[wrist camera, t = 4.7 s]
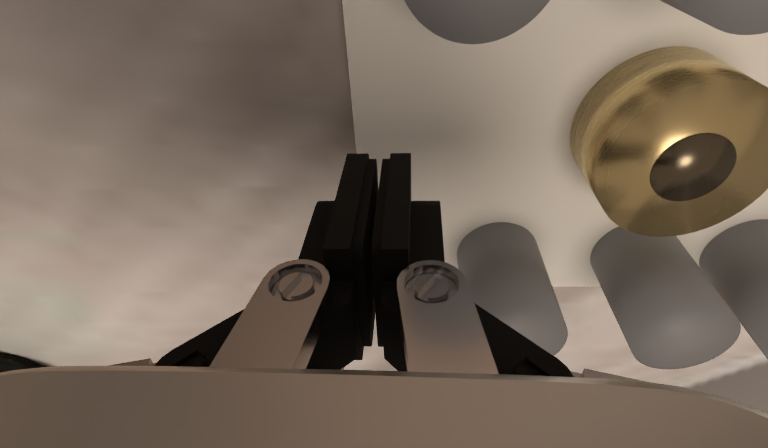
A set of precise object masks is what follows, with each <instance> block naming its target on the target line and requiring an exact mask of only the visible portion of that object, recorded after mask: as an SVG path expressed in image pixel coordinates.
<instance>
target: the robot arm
mask: <svg viewBox="0 0 768 448" xmlns="http://www.w3.org/2000/svg"><path fill="white" fill-rule="evenodd" d="M375 313H376V325H377V338H378V346H381V347H384V358H385V359H386V360H387V361H388V362H389V363H390V364H391V365H392V366H393V367H394V368H396V369H397V370H398V371H369V370H344V367H345V366H346V365H348V364H349V363H350V362H352V361H353V360H362V357H363V349H364V346H372V339H373V329H374V319H375ZM0 448H768V413H766V412H764V411H761V410H759V409H757V408H754V407H751V406H748V405H744V404H741V403H739V402H735V401H732V400H729V399H726V398H723V397H720V396H717V395H714V394H709V393H704V392H700V391H696V390H692V389H688V388H683V387H678V386H671V385H664V384H657V383H650V382H645V381H640V380H636V379H631V378H626V377H622V376H617V375H612V374H608V373H603V372H598V371H594V370H589V369H584V370H583V373H582V374H580V373H576V372H571V371H570V370H569V369H568V368H567V366H565V365H564V364H563V363H562V362H561V361H560V360H558V359H557V358H556V357H554V356H553V355H551V354H550V353H548V352H547V351H545V350H544V349H542V348H541V347H539V346H538V345H536V344H535V343H534V342H532V341H531V340H529V339H528V338H526V337H525V336H523V335H522V334H520V333H519V332H517V331H516V330H514V329H513V328H511V327H510V326H508V325H507V324H505V323H504V322H502V321H501V320H499V319H498V318H496V317H495V316H493V315H492V314H490V313H489V312H487V311H486V310H484V309H483V308H481V307H480V306H478V305H477V304H475V303H474V301H473V298H472V295H471V292H470V289H469V286H468V283H467V280H466V278H465V277H464V275H463V273H462V272H461V271H460V270H458V269H457V268H456V267H455V266H453V265H451V264H448V263H446V262H445V259H444V246H443V232H442V219H441V205H440V201H411V153H390V159H382V166H381V174H380V181H379V189H378V172H377V160H376V159H369V154H368V153H365V154H347V157H346V161H345V165H344V169H343V172H342V176H341V180H340V184H339V187H338V191H337V195H336V199H335V201H318V202H317V204H316V206H315V209H314V213H313V216H312V219H311V222H310V225H309V228H308V231H307V234H306V237H305V240H304V244H303V247H302V250H301V253H300V256H299V259H297V260H292V261H287V262H284V263H282V264H280V265H277V266H276V267H274V268H273V269H272V270H270V271H269V272H268V273H267V274H266V276H265V277H264V278H263V280H262V281H261V283H260V285H259V286H258V288H257V290H256V291H255V293H254V294H253V296H252V298H251V299H250V301H249V303H248V304H247V306H246V308H245V309H244V310H242V311H240V312H238V313H236V314H235V315H233V316H231V317H229V318H228V319H226V320H224V321H222V322H221V323H219V324H217V325H215V326H214V327H212V328H210V329H208V330H207V331H205V332H203V333H201V334H200V335H198V336H196V337H194V338H193V339H191V340H189V341H187V342H186V343H184V344H182V345H180V346H179V347H177V348H175V349H173V350H172V351H170V352H169V353H167V354H166V355H165V356H163V357H162V358H161V359H160V360H159V361H158V362H157V363H154V364H153V362H152V360H151V359H144V360H138V361H132V362H126V363H121V364H115V365H109V366H60V367H41V368H31V369H21V370H12V371H7V372H1V373H0Z"/></svg>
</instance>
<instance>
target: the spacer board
mask: <svg viewBox="0 0 768 448" xmlns="http://www.w3.org/2000/svg"><path fill="white" fill-rule="evenodd" d="M342 4H343V15H344V26H345V37H346V47H347V58H348V69H349V80H350V91H351V102H352V112H353V123H354V134H355V145H356V154H365V153H368V154H369V159H376V160H377V172H378V189H379V181H380V174H381V166H382V159H390V153H411V201H440V205H441V219H442V232H443V246H444V259H445V262H446V263H448V264H451V265H453V266H455V267H456V268H457V269H458V270H460V271H461V272H462V273H463V275H464V277H465V278H466V280H467V283H468V286H469V289H470V292H471V295H472V298H473V301H474V303H475V304H477V305H478V306H480V307H481V308H483V309H484V310H486V311H487V312H489V313H490V314H492V315H493V316H495V317H496V318H498V319H499V320H501V321H502V322H504V323H505V324H507V325H508V326H510V327H511V328H513V329H514V330H516V331H517V332H519V333H520V334H522V335H523V336H525V337H526V338H528V339H529V340H531V341H532V342H534V343H535V344H536V345H538V346H539V347H541V348H542V349H544V350H545V351H547V352H548V353H550V354H551V355H553V356H554V355H555V354H556V353H558V352H559V351H560V350H561V348H562V347H563V346H564V344H565V342H566V340H567V336H568V331H567V327H566V324H565V321H564V318H563V315H562V313H561V310H560V307H559V304H558V301H557V299H556V296H555V293H554V290H553V287H585V286H601V288H602V290H603V292H604V294H605V296H606V298H607V300H608V302H609V305H610V307H611V309H612V311H613V313H614V315H615V317H616V319H617V322H618V324H619V326H620V328H621V330H622V332H623V334H624V336H625V339H626V341H627V343H628V345H629V347H630V349H631V351H632V353H633V355H634V357H635V358H636V359H637V360H638V361H639V362H640V363H642V364H644V365H646V366H649V367H653V368H658V369H680V368H686V367H691V366H695V365H698V364H701V363H704V362H707V361H709V360H711V359H713V358H715V357H717V356H719V355H720V354H722V353H723V352H725V351H726V350H727V349H729V348H730V347H731V346H732V345H733V344H734V342H735V341H736V340H737V338H738V336H739V334H740V329H741V326H740V323H741V324H742V326H743V327H744V328H745V330H746V331H747V332H748V334H749V335H750V336H751V338H752V339H753V340H754V342H755V343H756V344H757V346H758V347H759V348H760V350H761V351H762V352H763V354H764V355H765V356H766V358H767V359H768V189H767V190H766V191H765V192H764V193H763V194H762V195H761V196H760V197H759V198H757V199H756V200H755V201H754V202H753V203H752V204H750V205H749V206H747V207H746V208H745V209H743V210H742V211H740V212H739V213H737V214H735V215H734V216H732V217H730V218H728V219H726V220H724V221H722V222H720V223H718V224H716V225H713V226H711V227H709V228H706V229H703V230H700V231H696V232H693V233H688V234H684V235H677V236H667V237H654V236H645V235H640V234H636V233H632V232H630V231H628V230H625V229H623V228H622V227H620V226H618V225H617V224H615V223H614V222H613V221H612V220H611V219H610V218H609V217H608V216H607V214H606V213H605V212H604V210H603V208H602V207H601V205H600V203H599V202H598V200H597V198H596V196H595V195H594V193H593V191H592V190H591V188H590V186H589V185H588V183H587V181H586V179H585V178H584V176H583V174H582V173H581V171H580V169H579V168H578V166H577V164H576V162H575V160H574V158H573V155H572V152H571V147H570V131H571V126H572V122H573V119H574V116H575V114H576V111H577V109H578V107H579V105H580V104H581V102H582V100H583V99H584V97H585V96H586V95H587V93H588V92H589V91H590V89H591V88H592V87H593V86H594V85H595V84H596V83H597V82H598V81H599V80H600V79H601V78H602V77H603V76H604V75H605V74H607V73H608V72H609V71H611V70H612V69H613V68H615V67H616V66H617V65H619V64H621V63H623V62H624V61H626V60H628V59H630V58H632V57H634V56H636V55H638V54H641V53H644V52H647V51H650V50H653V49H658V48H663V47H671V46H687V47H692V48H697V49H700V50H703V51H706V52H708V53H710V54H712V55H713V56H715V57H717V58H719V59H720V60H722V61H724V62H725V63H727V64H729V65H730V66H732V67H734V68H736V69H737V70H739V71H741V72H742V73H744V74H746V75H747V76H749V77H751V78H752V79H754V80H756V81H758V82H759V83H761V84H763V85H764V86H766V87H768V0H342Z"/></svg>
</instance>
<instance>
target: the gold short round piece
mask: <svg viewBox="0 0 768 448" xmlns="http://www.w3.org/2000/svg"><path fill="white" fill-rule="evenodd" d="M570 147H571V152H572V155H573V158H574V160H575V162H576V164H577V166H578V168H579V169H580V171H581V173H582V174H583V176H584V178H585V179H586V181H587V183H588V185H589V186H590V188H591V190H592V191H593V193H594V195H595V196H596V198H597V200H598V202H599V203H600V205H601V207H602V208H603V210H604V212H605V213H606V214H607V216H608V217H609V218H610V219H611V220H612V221H613V222H614V223H615V224H617V225H618V226H620V227H622V228H623V229H625V230H628V231H630V232H632V233H636V234H640V235H645V236H654V237H667V236H677V235H684V234H688V233H693V232H696V231H700V230H703V229H706V228H709V227H711V226H713V225H716V224H718V223H720V222H722V221H724V220H726V219H728V218H730V217H732V216H734V215H735V214H737V213H739V212H740V211H742V210H743V209H745V208H746V207H747V206H749V205H750V204H752V203H753V202H754V201H755V200H756V199H757V198H759V197H760V196H761V195H762V194H763V193H764V192H765V191H766V190H767V189H768V87H766V86H764V85H763V84H761V83H759V82H758V81H756V80H754V79H752V78H751V77H749V76H747V75H746V74H744V73H742V72H741V71H739V70H737V69H736V68H734V67H732V66H730V65H729V64H727V63H725V62H724V61H722V60H720V59H719V58H717V57H715V56H713V55H712V54H710V53H708V52H706V51H703V50H700V49H697V48H692V47H687V46H671V47H663V48H658V49H653V50H650V51H647V52H644V53H641V54H638V55H636V56H634V57H632V58H630V59H628V60H626V61H624V62H623V63H621V64H619V65H617V66H616V67H615V68H613V69H612V70H611V71H609V72H608V73H607V74H605V75H604V76H603V77H602V78H601V79H600V80H599V81H598V82H597V83H596V84H595V85H594V86H593V87H592V88H591V89H590V91H589V92H588V93H587V95H586V96H585V97H584V99H583V100H582V102H581V104H580V105H579V107H578V109H577V111H576V114H575V116H574V119H573V122H572V126H571V131H570Z"/></svg>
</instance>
